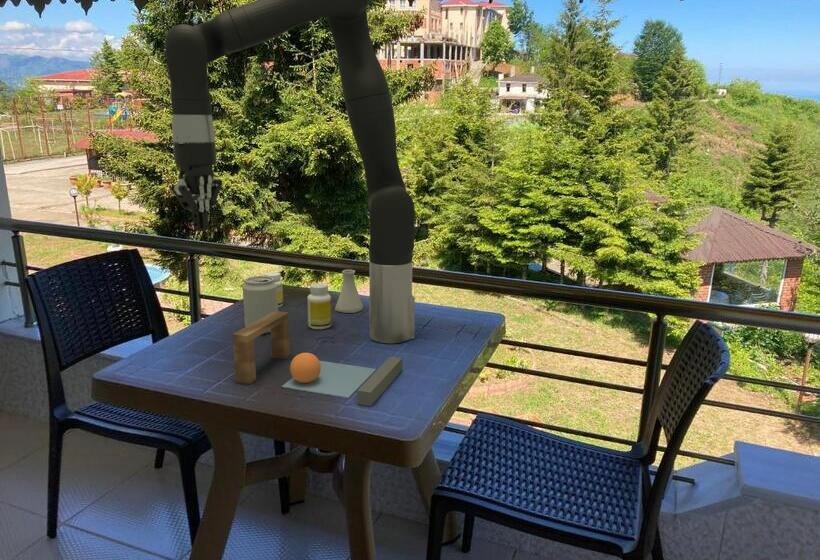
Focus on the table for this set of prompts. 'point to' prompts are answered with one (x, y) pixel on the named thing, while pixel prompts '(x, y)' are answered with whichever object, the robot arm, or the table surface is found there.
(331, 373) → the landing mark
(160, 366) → the table surface
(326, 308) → the supplement bottle
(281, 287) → the supplement bottle
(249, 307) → the can
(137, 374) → the table surface
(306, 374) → the ball
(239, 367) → the bridge
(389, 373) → the bar
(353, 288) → the flask
